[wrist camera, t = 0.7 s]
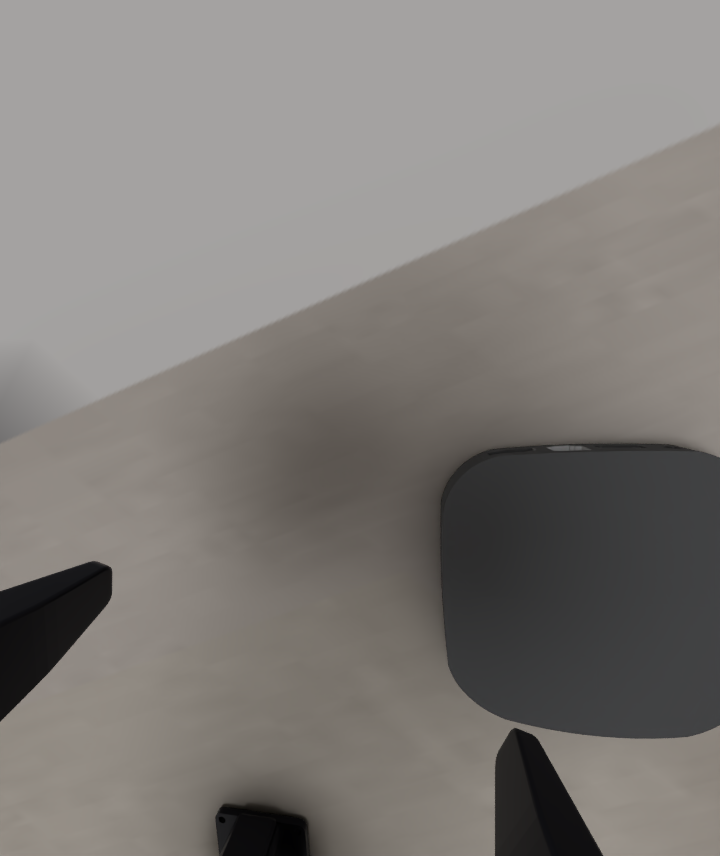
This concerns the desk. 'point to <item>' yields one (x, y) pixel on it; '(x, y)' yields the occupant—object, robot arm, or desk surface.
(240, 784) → the desk surface
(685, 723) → the media streaming box
